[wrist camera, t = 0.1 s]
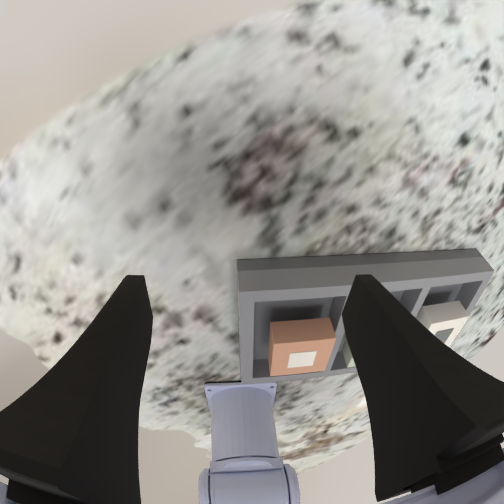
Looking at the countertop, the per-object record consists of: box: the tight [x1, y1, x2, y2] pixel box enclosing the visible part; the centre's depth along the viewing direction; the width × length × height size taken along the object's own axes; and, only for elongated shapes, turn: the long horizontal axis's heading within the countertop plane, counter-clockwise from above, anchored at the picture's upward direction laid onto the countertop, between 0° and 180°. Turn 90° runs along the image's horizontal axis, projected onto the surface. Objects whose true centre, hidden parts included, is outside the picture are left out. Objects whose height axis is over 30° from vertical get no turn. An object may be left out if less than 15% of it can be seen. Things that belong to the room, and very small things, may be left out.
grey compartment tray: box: [237, 249, 494, 384], centre depth 26 cm, size 12×22×3 cm, turn 89°
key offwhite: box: [416, 301, 469, 347], centre depth 24 cm, size 4×4×2 cm
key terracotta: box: [268, 317, 336, 376], centre depth 23 cm, size 4×4×2 cm
